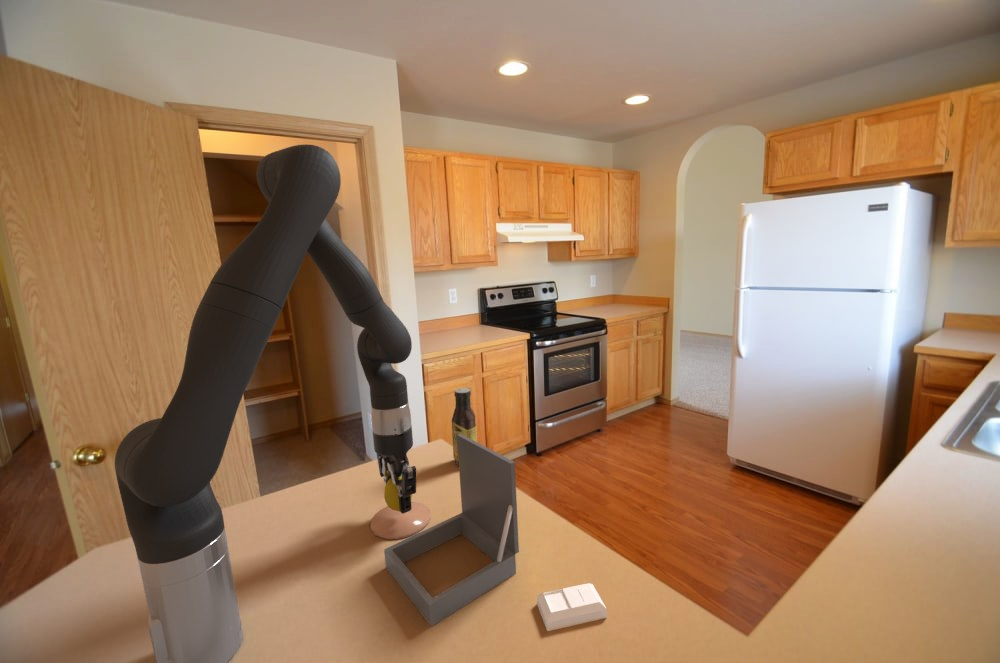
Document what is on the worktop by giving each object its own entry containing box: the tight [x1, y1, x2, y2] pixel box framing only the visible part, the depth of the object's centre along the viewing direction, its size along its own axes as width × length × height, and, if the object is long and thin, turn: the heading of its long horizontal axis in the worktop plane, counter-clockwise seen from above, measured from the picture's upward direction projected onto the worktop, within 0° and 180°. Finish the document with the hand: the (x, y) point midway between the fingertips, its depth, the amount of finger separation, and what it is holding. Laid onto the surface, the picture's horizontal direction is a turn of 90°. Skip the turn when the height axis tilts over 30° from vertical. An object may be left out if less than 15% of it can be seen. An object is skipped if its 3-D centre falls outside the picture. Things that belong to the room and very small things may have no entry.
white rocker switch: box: [536, 582, 608, 632], centre depth 62 cm, size 5×9×3 cm, turn 102°
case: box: [383, 434, 520, 628], centre depth 70 cm, size 17×16×20 cm
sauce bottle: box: [451, 387, 478, 467], centre depth 109 cm, size 7×6×20 cm
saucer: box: [370, 501, 432, 540], centre depth 86 cm, size 12×12×1 cm
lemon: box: [383, 476, 413, 512], centre depth 86 cm, size 6×6×8 cm
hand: (399, 504), depth 86 cm, fingers closed on lemon, 5 cm apart
